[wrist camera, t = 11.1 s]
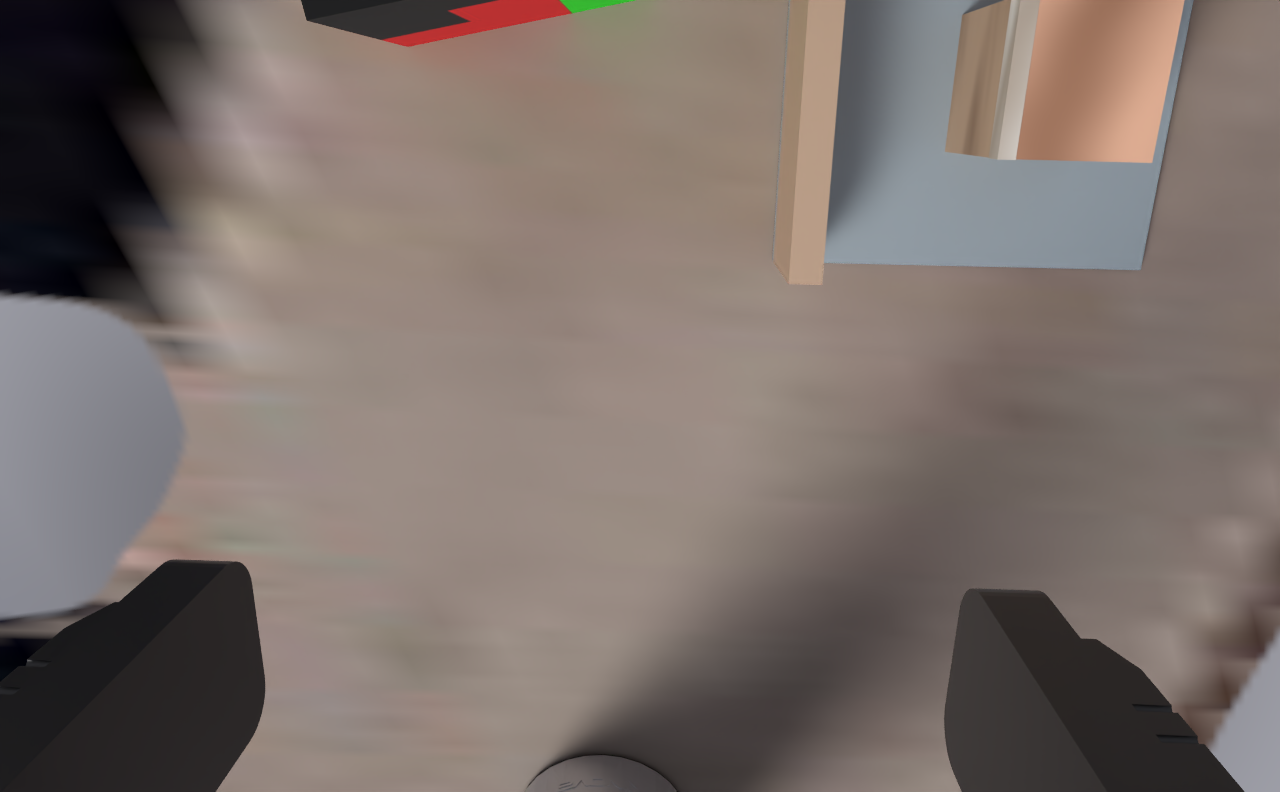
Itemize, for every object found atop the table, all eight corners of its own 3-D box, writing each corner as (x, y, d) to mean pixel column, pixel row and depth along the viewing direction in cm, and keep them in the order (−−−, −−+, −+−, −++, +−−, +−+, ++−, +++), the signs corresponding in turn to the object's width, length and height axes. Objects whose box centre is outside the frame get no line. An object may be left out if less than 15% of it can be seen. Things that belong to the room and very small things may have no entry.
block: (1095, 17, 33) (1185, -4, 27) (1072, 155, 34) (1152, 163, 28) (960, 14, 33) (1021, -8, 27) (943, 152, 34) (997, 159, 29)
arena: (1135, 268, 36) (1212, 294, 31) (772, 260, 36) (788, 283, 31) (1222, -178, 31) (1331, -237, 26) (800, -181, 31) (825, -239, 26)
